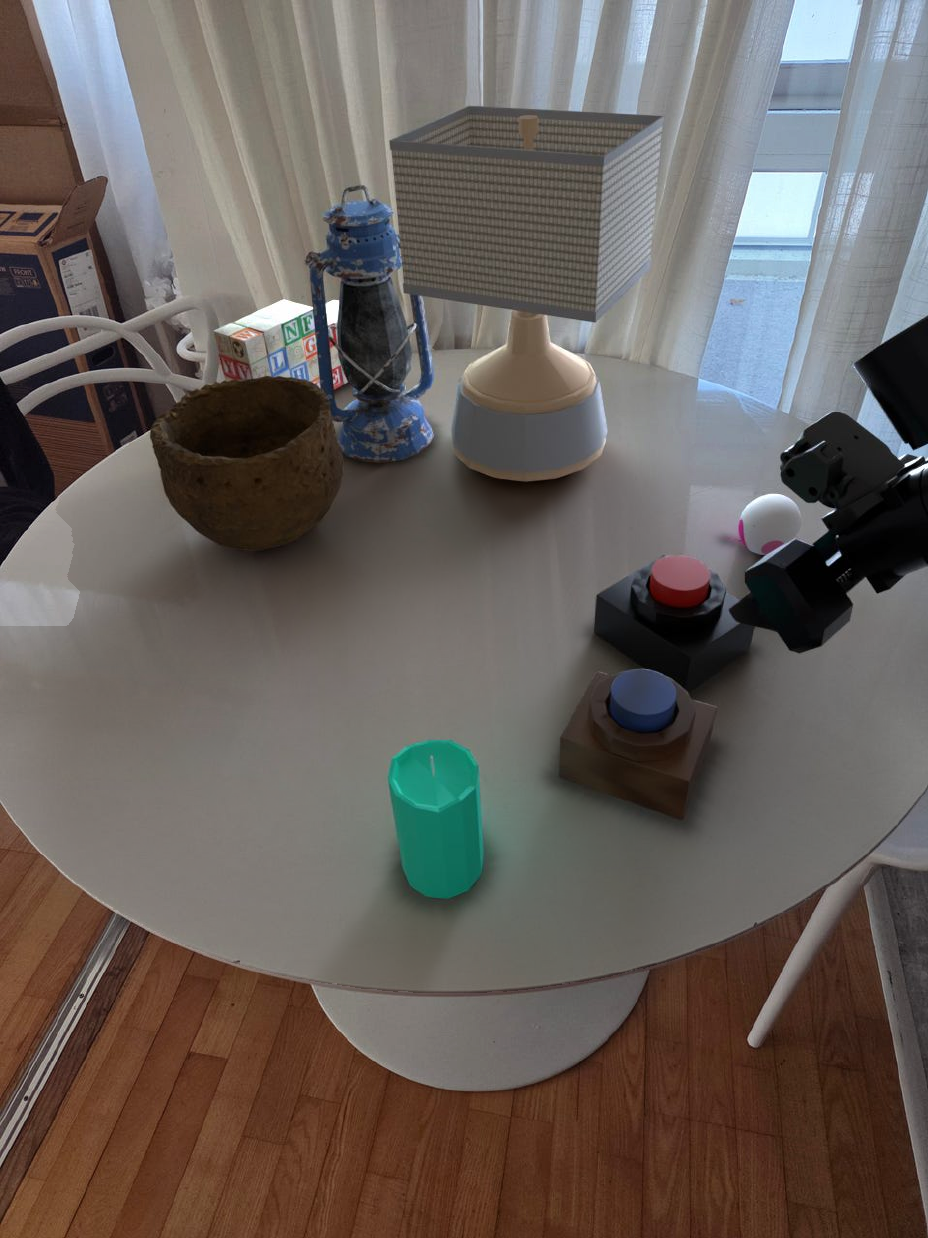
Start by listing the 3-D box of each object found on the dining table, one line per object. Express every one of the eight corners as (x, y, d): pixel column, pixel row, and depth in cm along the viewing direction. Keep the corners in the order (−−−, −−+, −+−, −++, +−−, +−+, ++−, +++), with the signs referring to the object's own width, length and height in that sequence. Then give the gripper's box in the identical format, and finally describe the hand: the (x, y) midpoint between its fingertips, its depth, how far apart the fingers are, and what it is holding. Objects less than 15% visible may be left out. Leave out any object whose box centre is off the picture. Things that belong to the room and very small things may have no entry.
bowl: (197, 605, 87) (156, 478, 77) (174, 510, 100) (136, 392, 90) (374, 557, 92) (356, 432, 82) (329, 473, 105) (309, 357, 95)
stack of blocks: (343, 360, 129) (331, 277, 121) (373, 370, 126) (363, 285, 118) (233, 416, 117) (211, 328, 109) (263, 429, 114) (243, 339, 106)
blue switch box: (709, 746, 70) (721, 690, 66) (681, 820, 65) (692, 765, 60) (593, 709, 74) (597, 654, 69) (558, 776, 68) (560, 721, 64)
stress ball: (747, 549, 95) (720, 499, 93) (819, 526, 90) (792, 473, 88) (733, 587, 89) (704, 535, 87) (809, 565, 84) (780, 510, 82)
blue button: (681, 698, 66) (684, 679, 64) (662, 742, 63) (665, 723, 61) (621, 680, 68) (623, 661, 66) (600, 721, 64) (602, 702, 63)
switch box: (750, 650, 78) (762, 595, 74) (683, 697, 74) (693, 641, 70) (658, 592, 85) (665, 539, 81) (593, 632, 81) (597, 578, 77)
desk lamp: (638, 435, 108) (670, 101, 84) (580, 513, 96) (598, 148, 72) (485, 404, 116) (474, 92, 92) (414, 472, 104) (379, 132, 80)
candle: (388, 883, 62) (368, 779, 54) (422, 818, 66) (408, 712, 58) (465, 910, 60) (456, 805, 52) (495, 841, 64) (491, 735, 56)
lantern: (353, 476, 104) (313, 214, 84) (311, 436, 112) (265, 188, 92) (461, 438, 110) (446, 184, 90) (413, 402, 118) (391, 162, 98)
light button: (719, 592, 75) (722, 573, 74) (680, 616, 73) (683, 598, 72) (675, 566, 78) (678, 547, 77) (637, 588, 76) (639, 570, 75)
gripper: (951, 341, 55) (779, 451, 69) (791, 448, 46) (629, 550, 60) (1048, 485, 55) (856, 566, 69) (905, 620, 46) (717, 683, 60)
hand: (769, 586), depth 64 cm, fingers open, 9 cm apart
